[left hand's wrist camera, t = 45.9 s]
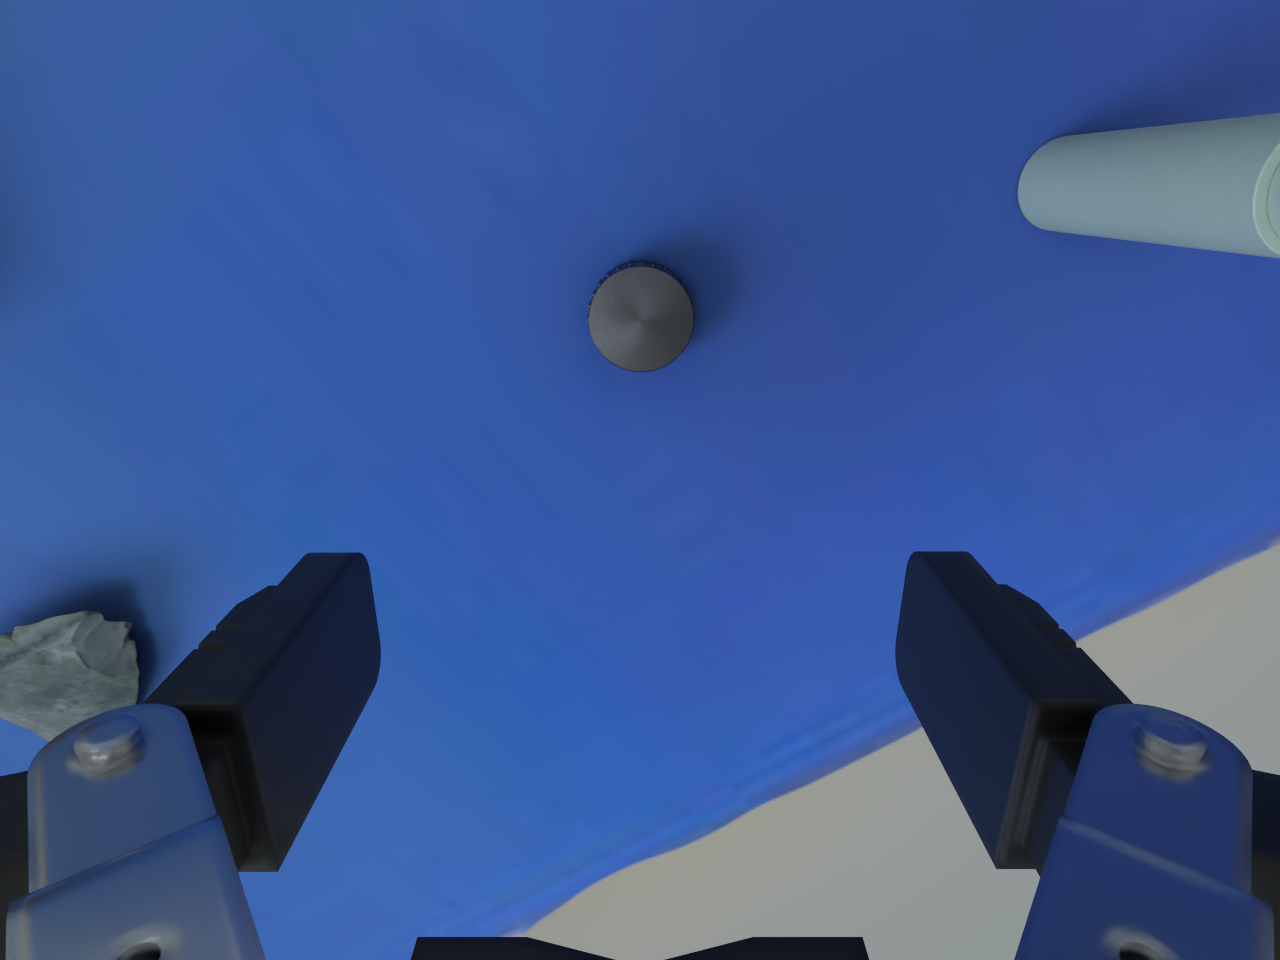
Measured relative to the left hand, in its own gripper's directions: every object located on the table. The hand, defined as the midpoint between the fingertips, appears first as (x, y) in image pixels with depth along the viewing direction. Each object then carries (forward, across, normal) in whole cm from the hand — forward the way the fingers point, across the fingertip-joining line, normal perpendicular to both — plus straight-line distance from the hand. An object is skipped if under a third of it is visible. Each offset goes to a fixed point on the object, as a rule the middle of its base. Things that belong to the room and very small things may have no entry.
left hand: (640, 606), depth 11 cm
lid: (+25, 0, 0) cm, 25 cm away
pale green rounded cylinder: (+27, +19, +6) cm, 34 cm away
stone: (+27, -32, -20) cm, 46 cm away
